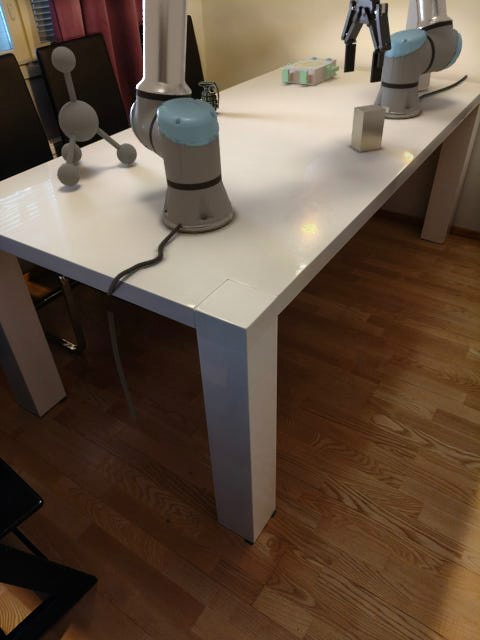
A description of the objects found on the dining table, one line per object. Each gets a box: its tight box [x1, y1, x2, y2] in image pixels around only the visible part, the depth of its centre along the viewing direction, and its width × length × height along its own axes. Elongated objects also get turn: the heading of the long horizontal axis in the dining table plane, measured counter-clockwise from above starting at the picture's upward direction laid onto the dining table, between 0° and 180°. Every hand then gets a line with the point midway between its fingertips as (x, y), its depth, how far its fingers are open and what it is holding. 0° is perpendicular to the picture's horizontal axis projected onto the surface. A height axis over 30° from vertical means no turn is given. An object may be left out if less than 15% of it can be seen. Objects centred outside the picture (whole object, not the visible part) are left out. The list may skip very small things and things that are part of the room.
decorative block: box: [281, 56, 340, 86], centre depth 204 cm, size 26×6×20 cm
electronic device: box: [405, 0, 432, 92], centre depth 176 cm, size 12×8×30 cm, turn 105°
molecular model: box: [50, 46, 138, 187], centre depth 124 cm, size 24×22×30 cm
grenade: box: [197, 81, 220, 112], centre depth 169 cm, size 7×6×10 cm
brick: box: [350, 103, 386, 153], centre depth 134 cm, size 7×5×11 cm
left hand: (361, 76), depth 126 cm, fingers open, 13 cm apart
